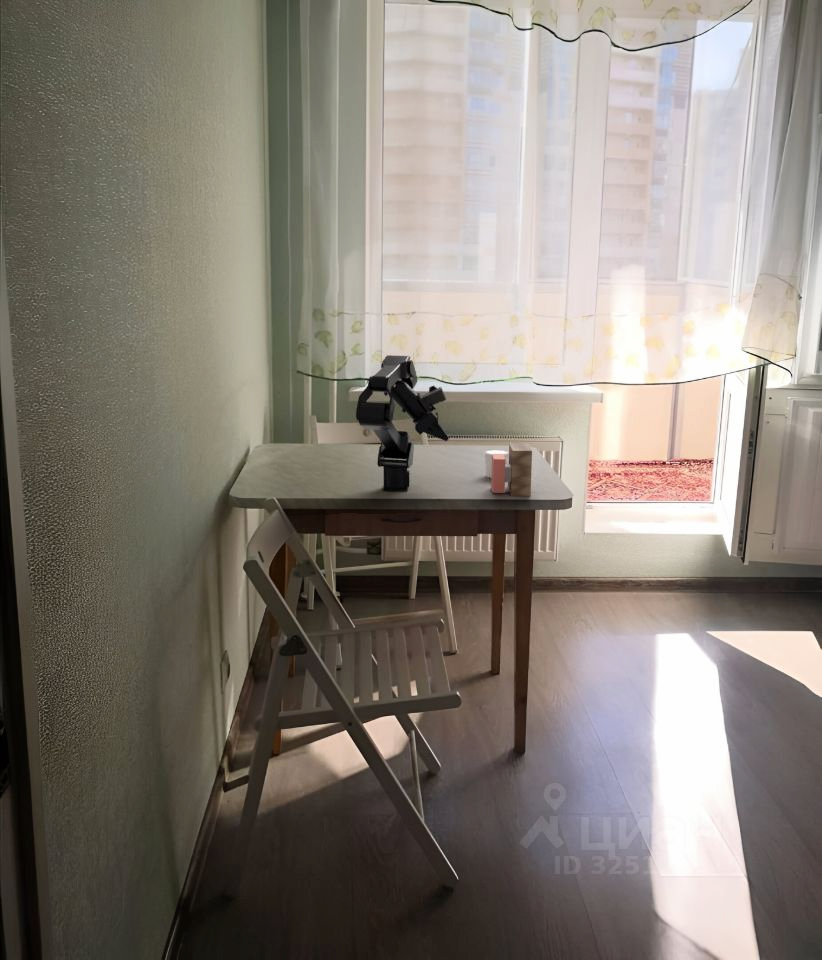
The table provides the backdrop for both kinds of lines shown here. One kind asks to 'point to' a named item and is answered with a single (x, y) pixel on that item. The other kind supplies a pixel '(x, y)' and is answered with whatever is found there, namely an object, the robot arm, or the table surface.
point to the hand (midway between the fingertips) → (447, 439)
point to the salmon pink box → (500, 473)
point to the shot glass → (489, 460)
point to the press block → (520, 469)
